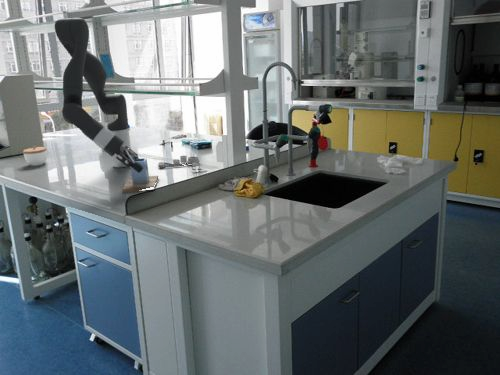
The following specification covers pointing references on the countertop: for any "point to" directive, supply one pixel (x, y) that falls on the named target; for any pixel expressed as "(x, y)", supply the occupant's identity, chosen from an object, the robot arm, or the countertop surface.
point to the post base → (138, 185)
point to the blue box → (143, 175)
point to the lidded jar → (35, 155)
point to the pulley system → (191, 160)
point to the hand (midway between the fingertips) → (142, 168)
